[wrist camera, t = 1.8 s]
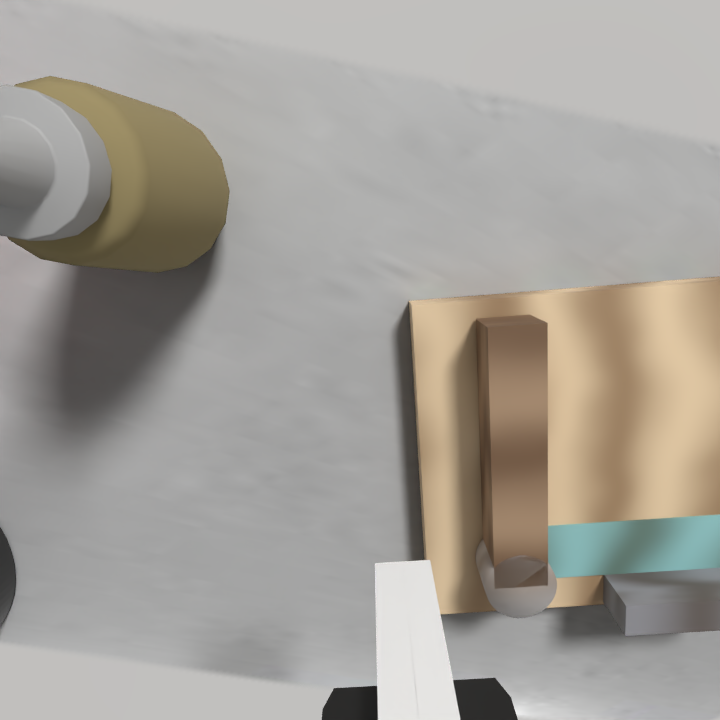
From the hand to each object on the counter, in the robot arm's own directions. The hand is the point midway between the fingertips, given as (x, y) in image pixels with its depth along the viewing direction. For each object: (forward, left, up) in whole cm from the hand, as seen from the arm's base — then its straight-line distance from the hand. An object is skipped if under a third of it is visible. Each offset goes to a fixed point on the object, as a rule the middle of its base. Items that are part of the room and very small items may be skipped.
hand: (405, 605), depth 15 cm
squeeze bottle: (-11, +13, -19) cm, 26 cm away
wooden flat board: (+13, -4, -19) cm, 23 cm away
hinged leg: (+7, -3, -17) cm, 19 cm away
